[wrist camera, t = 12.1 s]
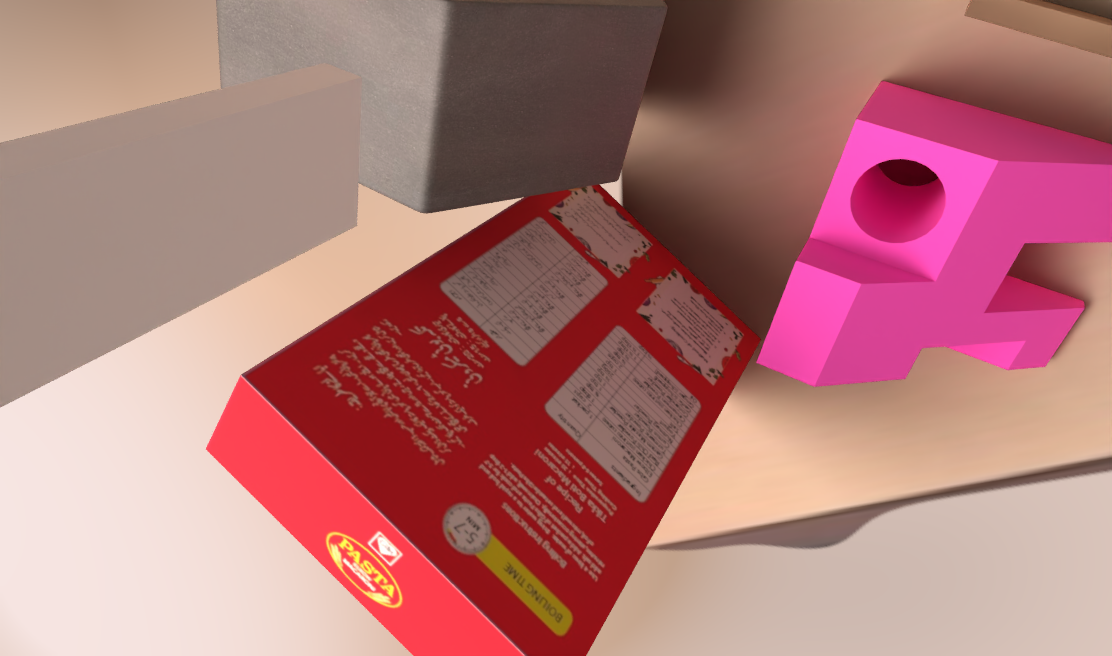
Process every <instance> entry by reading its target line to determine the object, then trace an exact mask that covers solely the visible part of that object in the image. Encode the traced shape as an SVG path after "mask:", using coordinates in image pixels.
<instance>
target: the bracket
mask: <svg viewBox="0 0 1112 656" xmlns="http://www.w3.org/2000/svg"><path fill="white" fill-rule="evenodd" d="M892 159H907V160H913V161H917V162H919V163H921V164H923V165H925V166H927V167H928V168H930V169H931V170H932V171H933V172H935V173H936V174H937V176H938V177H939V178H938V179H936V180H934V181H933V182H931V183H928V184H924V185H921V186H906V185H901V184H898V183H896V182H894V181H892V180H890V179H889V178H888V177H887V176H885V175H884V174H883V172H882V171H881V169H880V168H879V166H878V163H881V162H884V161H887V160H892ZM1079 242H1112V144H1109V143H1105V142H1102V141H1098V140H1095V139H1091V138H1087V137H1084V136H1080V135H1077V134H1073V133H1069V132H1066V131H1062V130H1059V129H1055V128H1051V127H1048V126H1044V125H1041V124H1037V123H1033V122H1030V121H1026V120H1023V119H1019V118H1015V117H1012V116H1008V115H1005V114H1001V113H997V112H994V111H990V110H986V109H983V108H979V107H976V106H972V105H968V104H965V103H961V102H958V101H954V100H950V99H947V98H943V97H940V96H936V95H932V94H929V93H925V92H922V91H918V90H914V89H911V88H907V87H904V86H900V85H896V84H893V83H889V82H886V81H881V83H880V84H879V86H878V87H877V89H876V90H875V92H874V93H873V95H872V96H871V98H870V99H869V101H868V102H867V104H866V105H865V107H864V108H863V110H862V111H861V113H860V114H859V116H858V117H857V119H856V121H855V123H854V126H853V128H852V131H851V133H850V136H849V139H848V141H847V144H846V146H845V149H844V151H843V154H842V156H841V159H840V161H839V164H838V166H837V169H836V171H835V174H834V177H833V179H832V182H831V184H830V187H829V189H828V192H827V194H826V197H825V199H824V202H823V204H822V207H821V209H820V212H819V214H818V217H817V220H816V222H815V225H814V227H813V230H812V232H811V235H810V237H809V239H808V241H807V242H806V244H805V246H804V248H803V249H802V251H801V253H800V255H799V256H798V258H797V260H796V262H795V265H794V267H793V270H792V272H791V275H790V278H789V280H788V283H787V285H786V288H785V290H784V293H783V295H782V298H781V300H780V303H779V306H778V308H777V311H776V313H775V316H774V318H773V321H772V323H771V326H770V329H769V331H768V334H767V336H766V339H765V341H764V344H763V346H762V349H761V352H760V354H759V357H758V359H757V362H756V363H758V364H761V365H763V366H765V367H768V368H770V369H773V370H775V371H778V372H780V373H782V374H785V375H787V376H790V377H792V378H794V379H797V380H799V381H802V382H804V383H807V384H809V385H811V386H814V387H817V386H828V385H840V384H851V383H863V382H874V381H886V380H897V379H905V378H906V376H907V375H908V373H909V371H910V369H911V367H912V365H913V364H914V362H915V360H916V358H917V356H918V354H919V353H920V351H921V349H922V348H931V347H948V348H950V349H953V350H956V351H958V352H961V353H964V354H966V355H969V356H972V357H974V358H977V359H980V360H982V361H985V362H988V363H990V364H993V365H996V366H998V367H1001V368H1004V369H1006V370H1013V369H1024V368H1036V367H1045V366H1046V365H1047V363H1048V362H1049V360H1050V359H1051V357H1052V356H1053V354H1054V353H1055V351H1056V350H1057V348H1058V347H1059V345H1060V344H1061V343H1062V341H1063V340H1064V338H1065V337H1066V335H1067V334H1068V332H1069V331H1070V329H1071V328H1072V326H1073V325H1074V323H1075V322H1076V320H1077V319H1078V317H1079V316H1080V314H1081V313H1082V311H1083V310H1084V308H1085V306H1084V301H1082V300H1079V299H1076V298H1073V297H1070V296H1067V295H1064V294H1061V293H1058V292H1055V291H1052V290H1049V289H1047V288H1044V287H1041V286H1038V285H1035V284H1032V283H1029V282H1026V281H1023V280H1020V279H1017V278H1014V277H1011V276H1008V275H1006V274H1007V273H1008V271H1009V269H1010V267H1011V266H1012V264H1013V262H1014V261H1015V259H1016V257H1017V255H1018V254H1019V252H1020V250H1021V249H1022V247H1023V245H1024V243H1079Z"/></svg>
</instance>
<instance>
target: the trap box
mask: <svg viewBox="0 0 1112 656" xmlns="http://www.w3.org/2000/svg"><path fill="white" fill-rule="evenodd" d="M965 16H968V17H972V18H975V19H979V20H982V21H986V22H989V23H993V24H996V25H999V26H1003V27H1006V28H1010V29H1013V30H1017V31H1020V32H1024V33H1027V34H1031V35H1034V36H1037V37H1041V38H1044V39H1048V40H1051V41H1055V42H1058V43H1062V44H1065V45H1069V46H1072V47H1076V48H1079V49H1082V50H1086V51H1089V52H1093V53H1096V54H1100V55H1103V56H1107V57H1110V58H1112V19H1108V18H1105V17H1101V16H1098V15H1094V14H1090V13H1087V12H1083V11H1079V10H1076V9H1072V8H1069V7H1065V6H1061V5H1058V4H1054V3H1050V2H1047V1H1043V0H971V1H970V3H969V5H968V7H967V9H966V12H965Z"/></svg>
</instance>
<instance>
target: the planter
mask: <svg viewBox="0 0 1112 656" xmlns="http://www.w3.org/2000/svg"><path fill="white" fill-rule="evenodd" d="M216 6H217V24H218V43H219V62H220V80H221V88H225V87H229V86H233V85H238V84H242V83H246V82H250V81H254V80H258V79H262V78H266V77H270V76H274V75H278V74H282V73H286V72H290V71H294V70H298V69H302V68H306V67H311V66H315V65H319V64H323V63H327V64H330V65H332V66H335V67H337V68H340V69H342V70H345V71H347V72H350V73H353V74H355V75H358V76H360V77H362V92H361V121H360V151H359V180H358V183H360V184H362V185H364V186H366V187H368V188H370V189H372V190H374V191H376V192H378V193H380V194H382V195H384V196H387V197H389V198H391V199H393V200H395V201H397V202H399V203H401V204H403V205H405V206H408V207H409V208H412V209H414V210H416V211H418V212H421V213H433V212H439V211H446V210H451V209H457V208H463V207H469V206H475V205H481V204H487V203H493V202H499V201H504V200H510V199H516V198H522V197H528V196H534V195H540V194H546V193H551V192H557V191H563V190H569V189H575V188H581V187H587V186H593V185H598V184H604V183H610V182H615V181H617V180H618V179H619V176H620V173H621V169H622V166H623V162H624V159H625V155H626V152H627V148H628V145H629V141H630V138H631V134H632V131H633V127H634V124H635V121H636V117H637V114H638V110H639V107H640V103H641V100H642V96H643V93H644V89H645V86H646V82H647V79H648V75H649V72H650V68H651V65H652V61H653V58H654V54H655V51H656V48H657V44H658V41H659V37H660V34H661V30H662V27H663V23H664V20H665V16H666V13H667V9H668V7H667V4H666V3H665V2H664V0H216Z"/></svg>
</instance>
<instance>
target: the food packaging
mask: <svg viewBox="0 0 1112 656" xmlns="http://www.w3.org/2000/svg"><path fill="white" fill-rule="evenodd" d="M760 340H761V339H760V338H759V337H758V336H757V335H756V334H755V333H754V332H753V331H752V330H751V329H750V328H749V327H748V326H747V325H746V324H744V323H743V322H742V321H741V320H740V319H739V318H738V317H737V316H736V315H735V314H734V313H733V312H732V311H731V310H730V309H729V308H728V307H727V306H726V305H725V304H724V303H723V302H722V301H720V300H719V299H718V298H717V297H716V296H715V295H714V294H713V293H712V292H711V291H710V290H709V289H708V288H707V287H706V286H705V285H704V284H703V283H702V282H701V281H700V280H699V279H697V278H696V277H695V276H694V275H693V274H692V273H691V272H690V271H689V270H688V269H687V268H686V267H685V266H684V265H683V264H682V263H681V262H680V261H679V260H678V259H677V258H676V257H675V256H673V255H672V254H671V253H670V252H669V251H668V250H667V249H666V248H665V247H664V246H663V245H662V244H661V243H660V242H659V241H658V240H657V239H656V238H655V237H654V236H653V235H652V234H650V233H649V232H648V231H647V230H646V229H645V228H644V227H643V226H642V225H641V224H640V223H639V222H638V221H637V220H636V219H635V218H634V217H633V216H632V215H631V214H630V213H629V212H628V211H626V210H625V209H624V208H623V207H622V206H621V205H620V204H619V203H618V202H617V201H616V200H615V199H614V198H613V197H612V196H611V195H610V194H609V193H608V192H607V191H606V190H604V189H603V188H602V187H601V186H600V185H599V184H598V185H593V186H587V187H581V188H575V189H569V190H563V191H557V192H551V193H546V194H540V195H534V196H528V197H524V198H522V199H521V200H519V201H517V202H516V203H514V204H513V205H511V206H509V207H508V208H506V209H505V210H503V211H501V212H500V213H498V214H497V215H495V216H494V217H492V218H490V219H489V220H487V221H486V222H484V223H482V224H481V225H479V226H478V227H476V228H474V229H473V230H471V231H470V232H468V233H467V234H465V235H463V236H462V237H460V238H458V239H457V240H455V241H454V242H452V243H450V244H449V245H447V246H446V247H444V248H443V249H441V250H439V251H438V252H436V253H434V254H433V255H431V256H430V257H428V258H427V259H425V260H423V261H422V262H420V263H419V264H417V265H415V266H414V267H412V268H411V269H409V270H407V271H406V272H404V273H403V274H401V275H400V276H398V277H396V278H395V279H393V280H391V281H390V282H388V283H387V284H385V285H383V286H382V287H380V288H379V289H377V290H376V291H374V292H372V293H371V294H369V295H368V296H366V297H364V298H363V299H361V300H360V301H358V302H356V303H355V304H353V305H352V306H350V307H348V308H347V309H345V310H344V311H342V312H340V313H339V314H338V315H336V316H334V317H332V318H331V319H329V320H328V321H326V322H324V323H323V324H321V325H320V326H318V327H316V328H315V329H313V330H312V331H310V332H309V333H307V334H305V335H304V336H302V337H301V338H299V339H297V340H296V341H294V342H293V343H291V344H290V345H288V346H286V347H285V348H283V349H282V350H280V351H278V352H277V353H275V354H273V355H272V356H270V357H269V358H267V359H266V360H264V361H262V362H261V363H259V364H257V365H256V366H254V367H253V368H251V369H250V370H248V371H246V372H245V373H243V374H242V375H241V376H240V378H239V380H238V382H237V384H236V386H235V388H234V390H233V392H232V395H231V397H230V399H229V401H228V403H227V405H226V408H225V410H224V412H223V414H222V416H221V418H220V420H219V422H218V424H217V426H216V429H215V431H214V433H213V435H212V437H211V439H210V441H209V443H208V445H207V447H206V450H207V451H208V452H209V453H210V454H211V455H212V456H214V458H215V459H216V460H217V461H218V462H219V463H221V465H222V466H223V467H225V469H226V470H227V471H228V472H229V473H231V475H232V476H233V477H234V478H236V479H237V480H238V482H239V483H241V484H242V486H243V487H245V488H246V489H247V490H248V491H249V492H250V493H251V494H252V495H253V496H254V497H255V498H256V499H257V500H258V501H259V502H260V503H261V504H262V505H263V506H264V507H265V508H266V509H267V510H268V511H269V512H270V513H271V514H272V515H273V516H274V517H275V518H276V519H277V520H278V521H279V522H280V523H281V524H282V525H283V526H284V527H285V528H286V529H287V530H288V531H289V532H290V533H291V534H292V535H293V536H294V537H295V538H296V539H297V540H298V541H299V542H300V543H301V544H302V545H303V546H304V547H305V548H306V549H307V550H308V551H309V552H310V553H311V554H312V555H313V556H314V557H315V558H316V559H317V560H318V561H319V562H320V563H321V564H322V565H323V566H324V567H325V568H326V569H327V570H328V571H329V572H330V573H331V574H332V575H333V576H334V577H335V578H336V579H337V580H338V581H339V582H340V583H341V584H342V585H343V586H344V587H345V588H346V589H347V590H348V591H349V592H350V593H351V594H352V595H353V596H354V597H355V598H356V599H357V600H358V601H359V602H360V603H361V604H362V605H363V606H364V607H365V608H366V609H367V610H368V611H369V612H370V613H371V614H372V615H373V616H374V617H375V618H376V619H377V620H378V621H379V622H380V623H381V624H382V625H383V626H384V627H385V628H386V629H387V630H389V632H390V633H391V634H392V635H393V636H394V637H395V638H396V639H397V640H398V641H399V642H400V643H402V644H403V646H404V647H405V648H406V649H407V650H408V651H409V652H410V653H412V655H413V656H586V655H587V653H588V651H589V650H590V647H591V646H592V644H593V642H594V640H595V639H596V636H597V635H598V633H599V631H600V630H601V628H602V626H603V624H604V622H605V621H606V619H607V617H608V615H609V613H610V612H611V610H612V608H613V606H614V604H615V602H616V601H617V599H618V597H619V595H620V593H621V592H622V590H623V588H624V586H625V584H626V583H627V581H628V579H629V577H630V575H631V574H632V572H633V570H634V568H635V566H636V565H637V562H638V561H639V559H640V557H641V556H642V554H643V552H644V550H645V548H646V546H647V545H648V543H649V541H650V539H651V537H652V536H653V534H654V532H655V530H656V528H657V527H658V525H659V523H660V521H661V519H662V518H663V516H664V514H665V512H666V510H667V508H668V507H669V505H670V503H671V501H672V499H673V498H674V496H675V494H676V492H677V490H678V489H679V487H680V485H681V483H682V481H683V480H684V478H685V476H686V474H687V472H688V470H689V469H690V467H691V465H692V463H693V461H694V460H695V458H696V456H697V454H698V452H699V451H700V449H701V447H702V445H703V443H704V442H705V440H706V438H707V436H708V434H709V432H710V431H711V429H712V427H713V425H714V423H715V422H716V420H717V418H718V416H719V414H720V413H721V411H722V409H723V407H724V405H725V404H726V402H727V400H728V398H729V396H730V395H731V393H732V391H733V389H734V387H735V385H736V384H737V382H738V380H739V378H740V376H741V375H742V373H743V371H744V369H745V367H746V366H747V364H748V362H749V360H750V358H751V357H752V355H753V353H754V351H755V349H756V347H757V346H758V344H759V342H760Z"/></svg>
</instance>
